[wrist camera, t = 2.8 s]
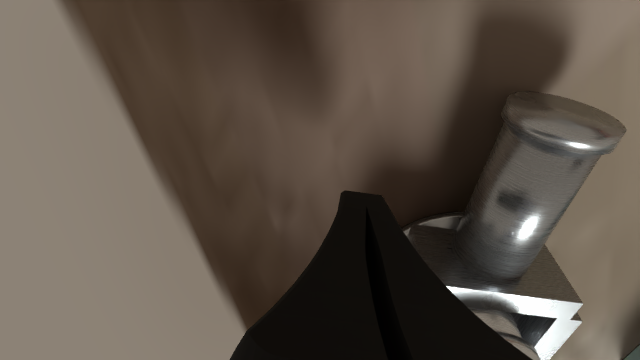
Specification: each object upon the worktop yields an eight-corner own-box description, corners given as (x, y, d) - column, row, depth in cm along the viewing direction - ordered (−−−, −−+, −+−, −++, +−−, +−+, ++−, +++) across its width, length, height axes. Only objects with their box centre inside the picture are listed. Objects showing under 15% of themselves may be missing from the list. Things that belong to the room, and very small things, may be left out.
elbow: (491, 327, 21) (517, 396, 17) (370, 312, 20) (374, 378, 17) (635, 105, 13) (725, 157, 10) (444, 79, 13) (475, 123, 10)
